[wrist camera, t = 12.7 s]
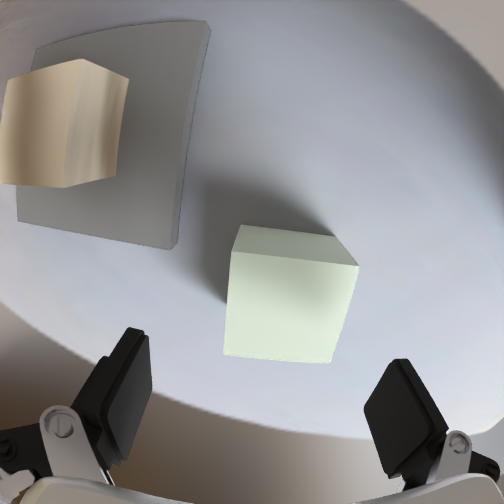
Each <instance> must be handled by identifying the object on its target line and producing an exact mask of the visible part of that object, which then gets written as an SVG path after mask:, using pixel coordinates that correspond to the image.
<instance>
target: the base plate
mask: <svg viewBox="0 0 504 504" xmlns="http://www.w3.org/2000/svg"><path fill="white" fill-rule="evenodd" d="M210 33H211V29H210V27H209V25H208V23H207V21H178V22H161V23H150V24H140V25H133V26H126V27H119V28H113V29H108V30H103V31H98V32H93V33H89V34H85V35H81V36H77V37H73V38H70V39H66V40H63V41H59V42H56V43H53V44H50V45H47V46H44V47H41V48H38V49H36V53H35V56H34V60H33V63H32V67H31V71H30V72H32V71H35V70H39V69H42V68H45V67H49V66H53V65H56V64H60V63H64V62H68V61H73V60H77V59H84V60H87V61H89V62H92V63H94V64H97V65H99V66H101V67H104V68H106V69H108V70H110V71H113V72H115V73H117V74H119V75H121V76H124V77H126V78H128V79H129V83H128V88H127V93H126V98H125V104H124V110H123V116H122V122H121V129H120V137H119V145H118V154H117V165H116V176H113V177H108V178H104V179H99V180H95V181H91V182H86V183H82V184H78V185H74V186H70V187H66V188H56V187H43V186H29V185H17V217H18V221H19V222H24V223H29V224H34V225H39V226H44V227H49V228H54V229H59V230H64V231H69V232H74V233H80V234H85V235H90V236H95V237H100V238H106V239H111V240H116V241H122V242H127V243H133V244H138V245H143V246H149V247H154V248H160V249H165V250H171V249H172V248H173V247H174V246H175V245H176V244H177V241H178V229H179V218H180V208H181V198H182V190H183V181H184V173H185V165H186V158H187V151H188V144H189V138H190V131H191V125H192V119H193V113H194V108H195V102H196V97H197V92H198V87H199V82H200V77H201V72H202V67H203V63H204V58H205V54H206V50H207V45H208V41H209V37H210Z"/></svg>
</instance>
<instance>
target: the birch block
mask: <svg viewBox="0 0 504 504" xmlns="http://www.w3.org/2000/svg"><path fill="white" fill-rule="evenodd" d="M128 83H129V79H128V78H126V77H124V76H121V75H119V74H117V73H115V72H113V71H110V70H108V69H106V68H104V67H101V66H99V65H97V64H94V63H92V62H89V61H87V60H84V59H77V60H73V61H68V62H64V63H60V64H56V65H53V66H49V67H45V68H42V69H39V70H35V71H32V72H29V73H26V74H23V75H21V76H18V77H15V78H12V79H10V80H8V83H7V88H6V92H5V98H4V103H3V109H2V116H1V123H0V184H12V185H29V186H43V187H56V188H66V187H70V186H74V185H78V184H82V183H86V182H91V181H95V180H99V179H104V178H108V177H113V176H116V165H117V154H118V145H119V137H120V129H121V122H122V116H123V110H124V104H125V98H126V93H127V88H128Z"/></svg>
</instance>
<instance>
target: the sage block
mask: <svg viewBox="0 0 504 504" xmlns="http://www.w3.org/2000/svg"><path fill="white" fill-rule="evenodd" d="M359 268H360V266H359V265H358V263H357V262H356V261H355V259H354V258H353V257H352V256H351V254H350V253H349V252H348V251H347V249H346V248H345V247H344V246H343V244H342V243H341V242H340V241H339V240H338V238H337V237H335V236H328V235H320V234H313V233H306V232H298V231H290V230H282V229H274V228H266V227H258V226H250V225H240V228H239V231H238V233H237V236H236V239H235V242H234V245H233V248H232V251H231V261H230V272H229V284H228V296H227V308H226V321H225V334H224V348H223V354H224V355H232V356H240V357H248V358H257V359H267V360H279V361H292V362H308V363H330V361H331V359H332V356H333V353H334V350H335V347H336V344H337V342H338V339H339V336H340V333H341V330H342V327H343V323H344V320H345V317H346V314H347V311H348V307H349V304H350V301H351V297H352V294H353V290H354V287H355V283H356V279H357V276H358V272H359Z"/></svg>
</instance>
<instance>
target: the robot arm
mask: <svg viewBox="0 0 504 504" xmlns="http://www.w3.org/2000/svg"><path fill="white" fill-rule="evenodd" d="M151 391H152V376H151V364H150V350H149V337H148V336H147V335H145V334H144V331H143V330H139V329H135V328H131V327H128V328H127V329H126V331H125V333H124V334H123V336H122V337H121V339H120V340H119V342H118V343H117V345H116V347H115V348H114V350H113V351H112V353H111V354H110V356H109V357H107V356H103V357H102V358H101V359H100V360H99V362H98V363H97V365H96V366H95V368H94V370H93V371H92V373H91V375H90V376H89V377H88V379H87V381H86V382H85V384H84V386H83V387H82V389H81V390H80V392H79V394H78V396H77V397H76V399H75V400H74V402H73V404H72V406H71V407H70V408H69V407H66V406H53V407H50V408H48V409H47V410H45V411H44V413H43V414H42V415H41V418H40V423H36V424H32V425H27V426H22V427H17V428H12V429H6V430H0V504H10V503H11V501H12V500H13V499H14V498H15V497H17V496H18V495H19V493H18V492H20V491H22V490H23V489H25V488H26V489H28V491H27V492H26V493H25V495H24V497H23V499H22V500H21V502H20V504H191V503H186V502H180V501H174V500H170V499H165V498H161V497H156V496H152V495H148V494H144V493H141V492H137V491H133V490H129V489H125V488H122V487H118V486H115V485H114V483H113V481H112V479H111V477H110V475H109V473H108V471H107V470H109V469H110V468H111V465H112V463H113V464H116V465H118V466H120V464H121V461H122V460H124V461H126V460H127V458H128V455H129V452H130V450H131V447H132V444H133V441H134V438H135V435H136V432H137V430H138V427H139V424H140V421H141V419H142V416H143V413H144V410H145V407H146V405H147V402H148V400H149V397H150V394H151ZM364 414H365V417H366V419H367V422H368V425H369V428H370V431H371V434H372V437H373V440H374V443H375V446H376V449H377V451H378V454H379V458H380V461H381V464H382V467H383V470H384V472H385V473H386V474H387V475H388V478H389V479H392V478H396V477H400V476H401V475H402V477H403V479H402V482H401V484H400V486H399V488H398V490H397V492H396V494H392V495H389V496H384V497H380V498H376V499H371V500H367V501H362V502H356V503H350V504H504V475H503V474H501V475H500V468H499V465H498V464H497V463H496V462H495V461H494V460H492V459H490V458H488V457H486V456H483V455H481V454H479V453H476V452H474V451H472V443H471V440H470V438H469V437H468V436H467V435H466V434H465V433H463V432H461V431H458V430H456V431H451V432H450V433H449V434H448V435H447V434H446V431H447V430H448V429H449V427H448V425H447V424H446V422H445V420H444V418H443V416H442V415H441V413H440V411H439V409H438V408H437V406H436V404H435V402H434V401H433V399H432V397H431V395H430V394H429V392H428V390H427V389H426V387H425V385H424V384H423V382H422V380H421V379H420V377H419V376H418V374H417V372H416V371H415V369H414V368H413V366H412V364H411V363H410V361H409V360H408V359H394V360H393V361H392V362H391V363H389V365H388V367H387V368H386V370H385V372H384V374H383V376H382V377H381V379H380V381H379V382H378V384H377V386H376V387H375V389H374V391H373V392H372V394H371V396H370V397H369V399H368V400H367V402H366V404H365V406H364Z"/></svg>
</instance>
